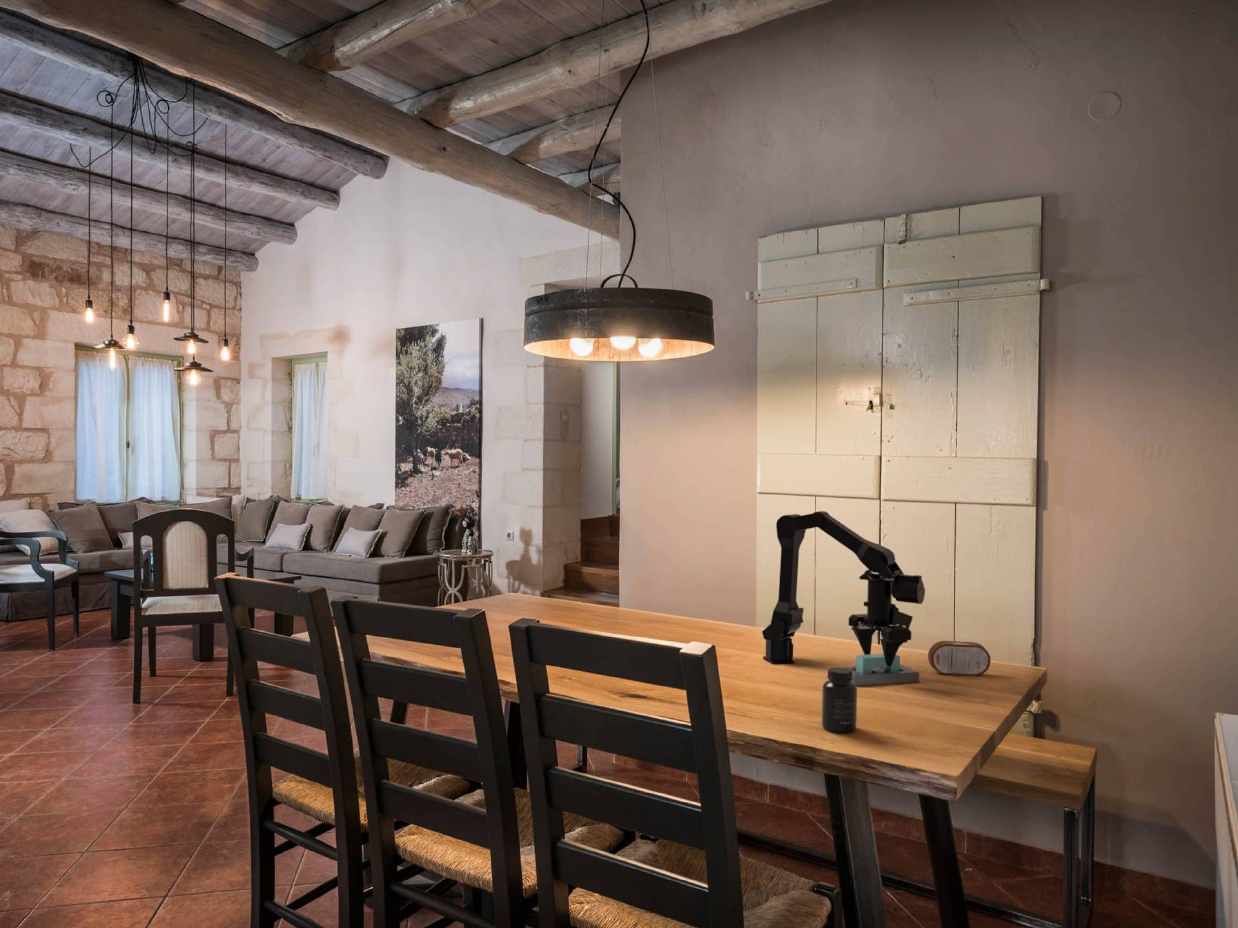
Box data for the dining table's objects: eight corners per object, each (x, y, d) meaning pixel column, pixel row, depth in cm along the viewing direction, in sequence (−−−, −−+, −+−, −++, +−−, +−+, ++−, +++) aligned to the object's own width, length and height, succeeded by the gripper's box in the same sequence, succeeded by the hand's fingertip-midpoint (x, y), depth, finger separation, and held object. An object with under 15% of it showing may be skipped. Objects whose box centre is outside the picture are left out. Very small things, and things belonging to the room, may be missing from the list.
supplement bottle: (816, 723, 165) (818, 665, 165) (848, 722, 166) (850, 665, 166) (828, 734, 158) (829, 674, 158) (861, 734, 159) (863, 674, 159)
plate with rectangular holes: (854, 686, 193) (854, 676, 193) (836, 677, 200) (837, 667, 200) (918, 681, 197) (919, 671, 197) (899, 673, 205) (899, 663, 205)
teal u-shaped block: (862, 682, 196) (863, 658, 196) (855, 679, 199) (856, 655, 199) (899, 680, 199) (900, 656, 199) (892, 676, 202) (892, 653, 202)
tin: (987, 674, 206) (988, 641, 206) (991, 677, 203) (992, 644, 203) (927, 671, 208) (927, 639, 208) (930, 674, 205) (931, 642, 204)
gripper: (931, 604, 192) (930, 669, 192) (885, 591, 210) (884, 650, 210) (891, 606, 189) (889, 671, 189) (848, 592, 207) (846, 652, 207)
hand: (878, 661), depth 199 cm, fingers open, 9 cm apart
